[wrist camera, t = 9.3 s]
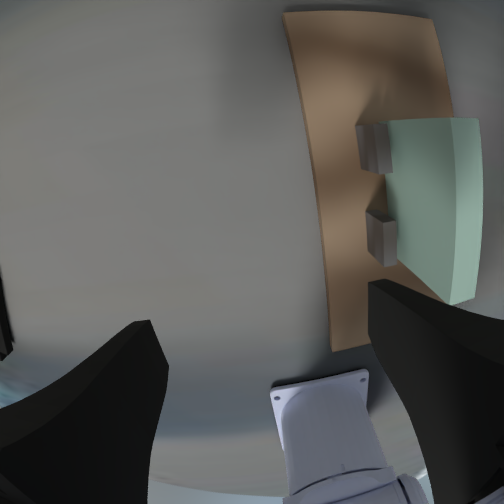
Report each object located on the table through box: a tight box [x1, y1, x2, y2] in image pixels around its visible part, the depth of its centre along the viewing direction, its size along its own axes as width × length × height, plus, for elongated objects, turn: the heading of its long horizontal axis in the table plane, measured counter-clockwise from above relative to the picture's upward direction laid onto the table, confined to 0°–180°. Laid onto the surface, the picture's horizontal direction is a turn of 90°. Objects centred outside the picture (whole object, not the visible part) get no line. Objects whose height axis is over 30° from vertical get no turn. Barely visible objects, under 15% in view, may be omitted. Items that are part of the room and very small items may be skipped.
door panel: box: [379, 118, 483, 305], centre depth 13 cm, size 8×2×7 cm, turn 10°
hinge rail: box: [282, 11, 454, 352], centre depth 16 cm, size 22×10×3 cm, turn 10°
